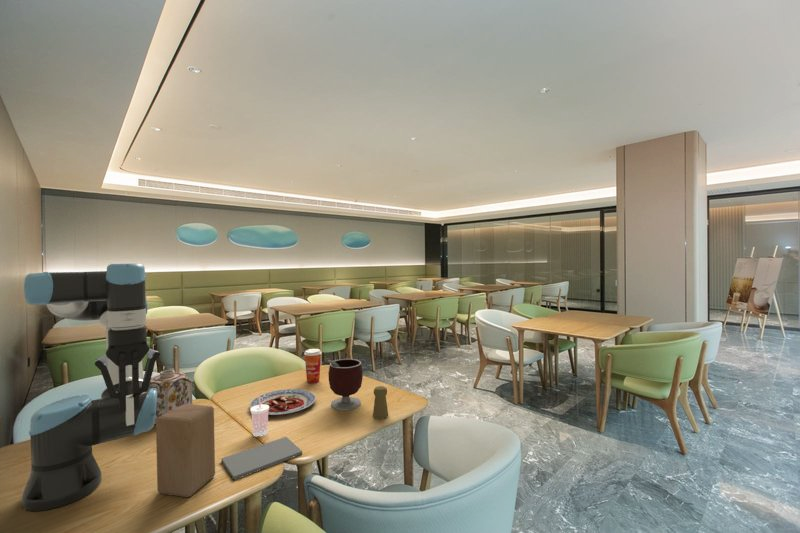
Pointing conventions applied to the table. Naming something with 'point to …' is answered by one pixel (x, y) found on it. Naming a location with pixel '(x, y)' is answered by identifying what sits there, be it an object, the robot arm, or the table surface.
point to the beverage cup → (260, 419)
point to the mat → (260, 457)
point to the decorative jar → (171, 391)
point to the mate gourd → (345, 382)
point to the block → (185, 449)
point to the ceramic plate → (285, 401)
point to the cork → (380, 402)
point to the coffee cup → (312, 365)
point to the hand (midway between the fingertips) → (130, 423)
